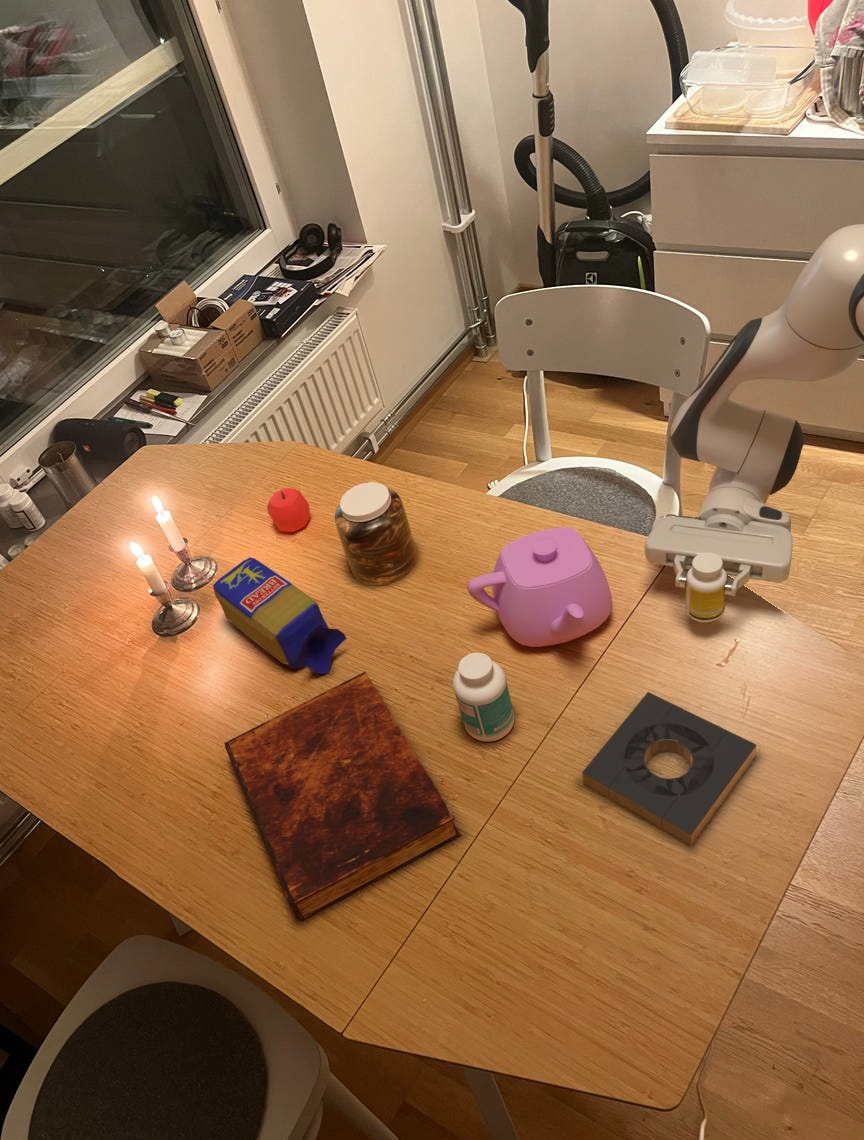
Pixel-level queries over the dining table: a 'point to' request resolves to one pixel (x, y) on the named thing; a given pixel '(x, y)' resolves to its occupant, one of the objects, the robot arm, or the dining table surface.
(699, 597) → the supplement bottle
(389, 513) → the jar
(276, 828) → the book
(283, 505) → the apple
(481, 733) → the pill bottle
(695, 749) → the drain plate
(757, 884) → the dining table surface
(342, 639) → the bread
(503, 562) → the teapot
